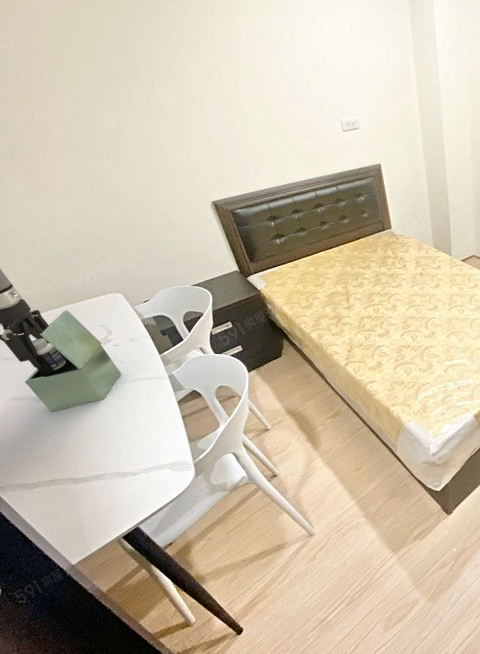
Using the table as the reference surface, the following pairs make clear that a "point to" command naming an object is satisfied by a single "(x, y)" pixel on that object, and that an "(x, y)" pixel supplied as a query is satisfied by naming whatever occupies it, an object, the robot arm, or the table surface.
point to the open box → (75, 382)
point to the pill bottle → (49, 353)
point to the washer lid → (71, 339)
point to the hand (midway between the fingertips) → (54, 366)
